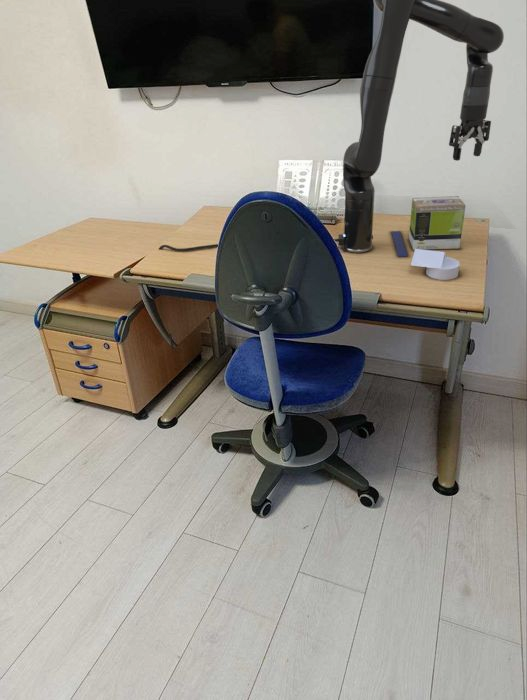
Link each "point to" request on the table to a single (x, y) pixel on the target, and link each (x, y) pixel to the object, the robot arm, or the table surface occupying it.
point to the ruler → (399, 244)
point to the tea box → (436, 222)
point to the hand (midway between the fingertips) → (466, 158)
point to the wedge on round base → (436, 264)
